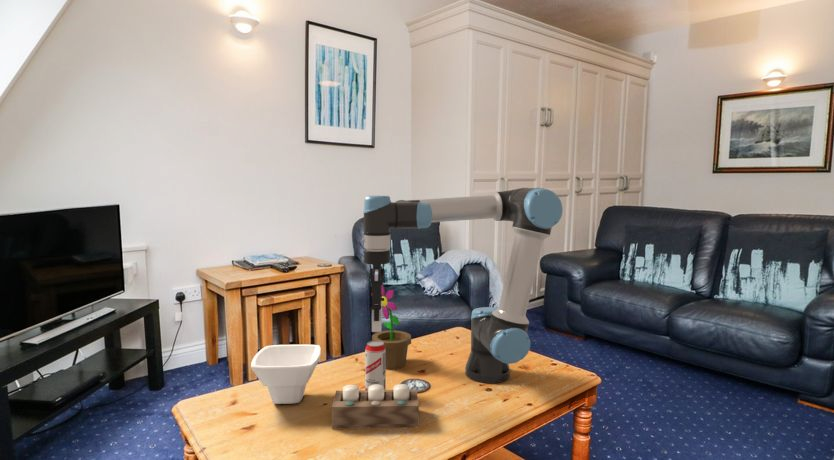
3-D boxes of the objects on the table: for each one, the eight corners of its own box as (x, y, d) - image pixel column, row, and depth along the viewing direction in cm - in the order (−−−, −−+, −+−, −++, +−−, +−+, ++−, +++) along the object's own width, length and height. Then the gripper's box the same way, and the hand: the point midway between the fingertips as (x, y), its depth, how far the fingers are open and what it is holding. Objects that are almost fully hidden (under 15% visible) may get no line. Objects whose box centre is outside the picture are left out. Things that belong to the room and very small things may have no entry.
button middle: (384, 401, 135) (384, 384, 135) (383, 408, 131) (384, 390, 130) (368, 401, 135) (368, 384, 135) (367, 408, 131) (367, 391, 130)
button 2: (409, 400, 136) (409, 383, 135) (409, 408, 131) (409, 390, 131) (393, 401, 135) (393, 384, 135) (393, 408, 131) (393, 390, 131)
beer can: (382, 398, 145) (382, 347, 143) (362, 396, 146) (362, 345, 144) (387, 389, 151) (387, 340, 149) (368, 388, 152) (368, 339, 150)
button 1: (359, 401, 135) (359, 384, 134) (358, 408, 131) (358, 391, 130) (343, 401, 135) (343, 384, 134) (342, 409, 130) (341, 391, 130)
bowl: (316, 414, 135) (316, 366, 133) (246, 416, 133) (245, 367, 132) (325, 386, 153) (324, 343, 152) (263, 387, 152) (262, 344, 150)
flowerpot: (363, 364, 171) (362, 282, 168) (390, 354, 182) (391, 276, 179) (392, 375, 162) (392, 288, 159) (419, 363, 173) (420, 281, 170)
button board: (416, 409, 138) (416, 388, 137) (418, 427, 128) (418, 404, 127) (336, 410, 137) (336, 389, 136) (331, 428, 127) (331, 406, 126)
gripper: (365, 244, 147) (366, 317, 149) (361, 254, 127) (362, 338, 129) (390, 244, 147) (390, 317, 150) (389, 254, 127) (389, 338, 130)
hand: (377, 327), depth 139 cm, fingers open, 7 cm apart
